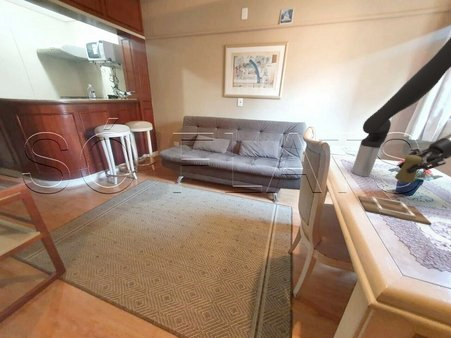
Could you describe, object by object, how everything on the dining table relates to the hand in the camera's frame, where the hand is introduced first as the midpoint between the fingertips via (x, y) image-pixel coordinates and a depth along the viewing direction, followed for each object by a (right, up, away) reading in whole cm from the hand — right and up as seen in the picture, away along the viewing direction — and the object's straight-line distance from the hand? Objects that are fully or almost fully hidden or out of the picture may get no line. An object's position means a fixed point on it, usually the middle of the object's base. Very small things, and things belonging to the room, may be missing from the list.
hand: (403, 169), depth 79 cm
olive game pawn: (+2, -5, +2) cm, 5 cm away
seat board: (-9, -16, -4) cm, 19 cm away
